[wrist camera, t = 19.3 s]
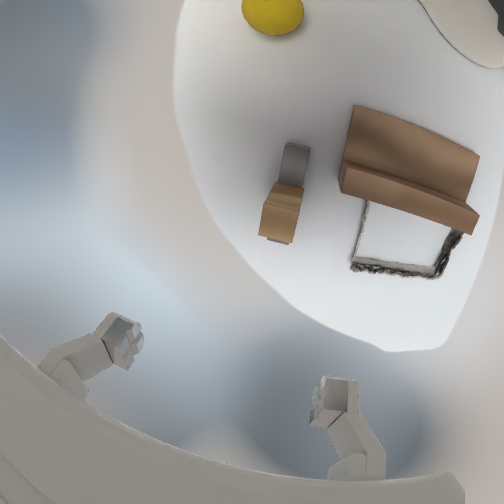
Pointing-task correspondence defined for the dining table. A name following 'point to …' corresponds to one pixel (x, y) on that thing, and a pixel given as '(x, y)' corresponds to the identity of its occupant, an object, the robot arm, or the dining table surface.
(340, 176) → the stop bar
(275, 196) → the oak pusher
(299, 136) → the dining table surface
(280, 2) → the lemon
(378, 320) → the dining table surface
